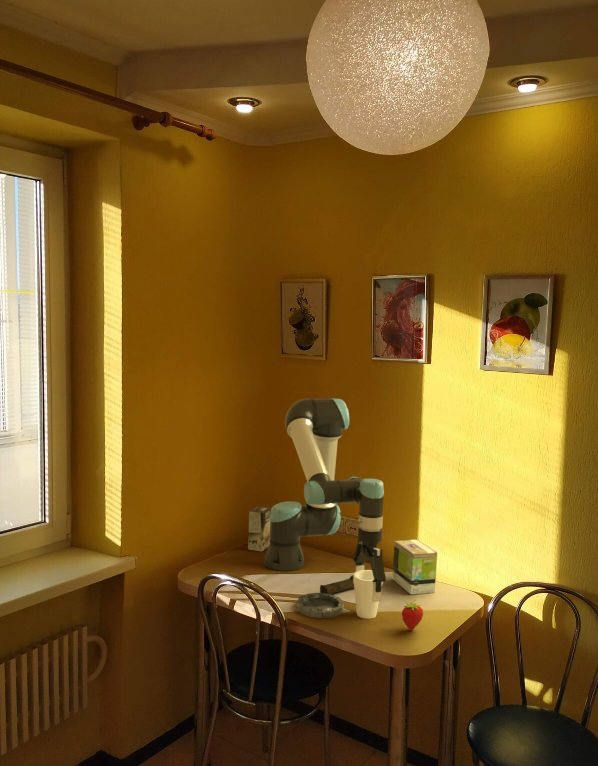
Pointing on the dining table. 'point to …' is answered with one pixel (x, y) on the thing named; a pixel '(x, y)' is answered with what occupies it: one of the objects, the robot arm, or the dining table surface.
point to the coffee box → (259, 528)
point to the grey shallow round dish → (320, 605)
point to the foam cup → (364, 594)
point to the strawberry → (412, 615)
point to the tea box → (414, 566)
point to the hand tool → (337, 586)
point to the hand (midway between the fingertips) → (367, 593)
